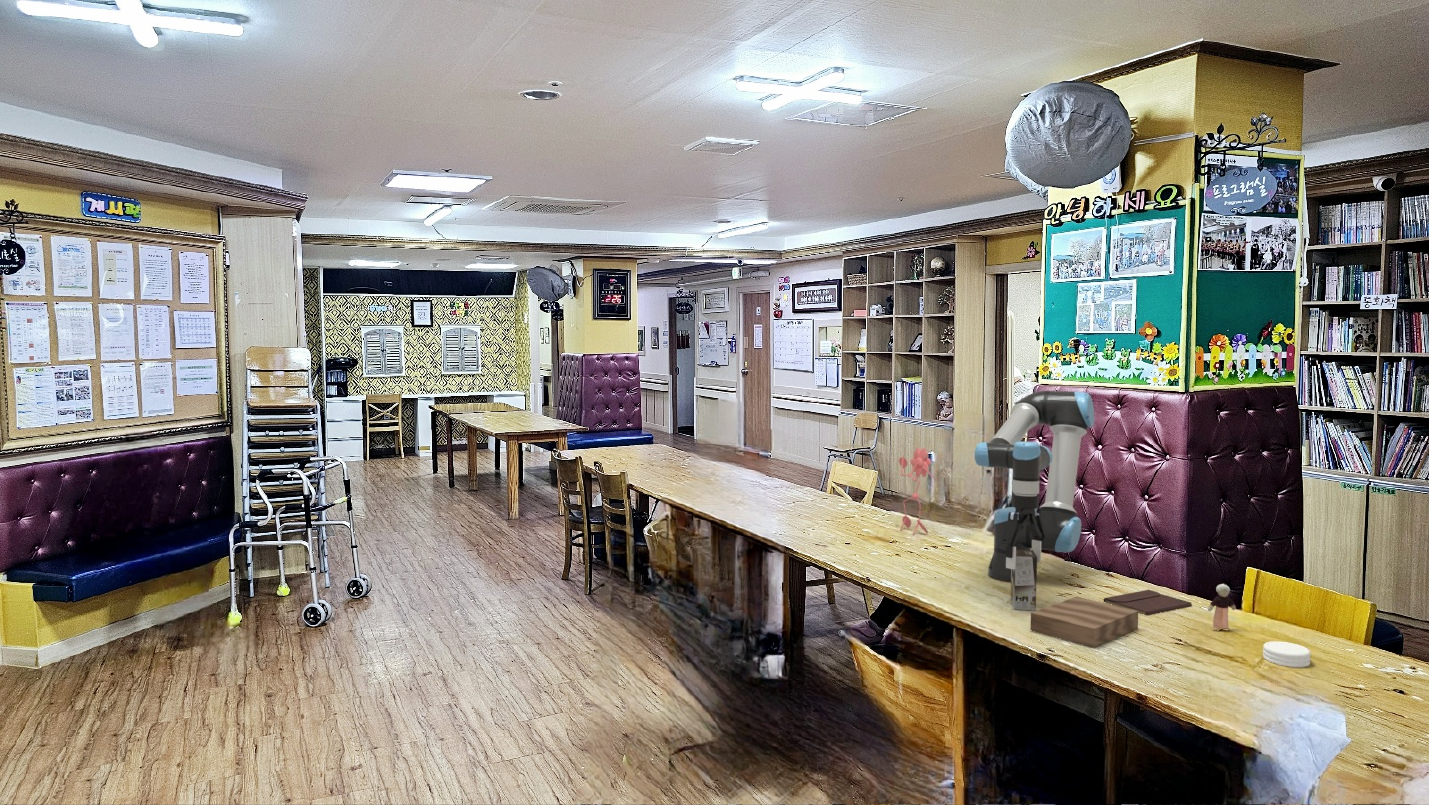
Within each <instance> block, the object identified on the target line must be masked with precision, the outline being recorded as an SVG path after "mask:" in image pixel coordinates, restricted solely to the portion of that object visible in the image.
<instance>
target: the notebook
mask: <svg viewBox="0 0 1429 805" xmlns="http://www.w3.org/2000/svg"><path fill="white" fill-rule="evenodd" d="M1104 602H1106V604H1108V603H1109V604H1112V605H1115V606H1119V607H1124V608H1128V609H1132V610H1137V611H1138V614H1140V615H1141V614H1142V615H1143V614H1144V616H1147V617H1149V616H1151V615H1152V614H1153V615H1157V614H1161V613H1160V612H1162V613H1165V612H1164V611H1167V612H1171V611H1176V609H1177V610H1180V609H1185V608H1191V607H1192V606H1193V604H1192V601H1190V602H1189V601H1186V600H1184V599H1180V598H1177V597H1173V596H1169V595H1166V594H1162V593H1160V592H1158V591H1155V590H1151V589H1145V590H1140V591H1135V592H1129V593H1125V594H1123V593H1122V594H1119V595H1114V596H1113V595H1112V596H1109V597H1104V598H1103V603H1104ZM1156 613H1157V614H1156Z"/></svg>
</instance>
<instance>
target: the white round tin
mask: <svg viewBox="0 0 1429 805" xmlns="http://www.w3.org/2000/svg"><path fill="white" fill-rule="evenodd" d="M1262 647H1263V650H1262V652H1263V653H1262V657H1263V659H1264V660H1265V659H1266V660H1265V661H1267V662H1269V661H1270V663H1271V662H1272V663H1271V664H1274V663H1275V664H1274V665H1277V666H1278V665H1279V666H1283V667H1287V668H1306V667H1309V666H1310V665H1311V659H1312V657H1311V655H1312V653H1311V650H1310V649H1309V648H1307V647H1305V646H1303V645H1301V644H1297V643H1292V642H1286V641H1274V640H1272V641H1267V642H1265V643H1264V644H1263V645H1262Z"/></svg>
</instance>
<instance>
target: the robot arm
mask: <svg viewBox="0 0 1429 805" xmlns="http://www.w3.org/2000/svg"><path fill="white" fill-rule="evenodd" d="M1094 424H1095V407H1094V402H1093V399H1092V397H1091V395H1090V393H1087V392H1084V391H1076V390H1075V391H1065V390H1063V391H1061V390H1059V391H1058V390H1057V391H1056V390H1039V391H1036V392H1033V393H1031V394H1028V395H1026V396H1024V397H1022V398H1021V399H1020V400H1018V401H1017V402H1016V403H1015V404H1014V405H1013V406H1012V407H1011V410H1010V414H1009V417H1008V418H1007V420H1006V421H1005V422H1004V423H1003V425H1001V427H1000V428H999V429H998V430H997V432H996V433H995V434H994V436H993V437H992V438H991V439H990V440H989V442H986V441H985V442H979V443H978V444H976V446H975V449H974V461H975V463H976V465H977V466H979V467H985V468H986V467H987V468H995V469H996V468H997V469H1009V470H1010V469H1012V482H1011V484H1012V492H1011V493H1013V494H1012V495H1011V506H1010V507H1009V506H1008V507H1003V508H999V509H997V510H996V512H995V513H994V522H993V526H994V527H993V528H994V529H993V530H994V531H993V532H994V533H993V535H994V536H993V554H992V557H991V559H990V561H989V562H990V563H989V565H988V570H987V576H988V577H991V578H992V579H995V580H998V581H1005V582H1011V569H1016V550H1033V552H1034V553H1035V554H1036V556H1037V564H1040V563H1042V550H1044V551H1052V552H1056V553H1071V552H1073V551H1074V550H1075V549H1076V547H1077V546H1078V543H1079V541H1080V537H1081V535H1082V520H1081V518H1079V517H1078V516H1077V515H1078V512H1077V511H1076V510H1075V508H1074V500H1075V499H1074V498H1075V492H1076V490H1075V489H1076V483H1077V474H1078V465H1079V458H1080V450H1081V441H1082V437H1084V436H1085V435H1087V433H1088V432H1087V431H1088V428H1093V427H1094ZM1038 425H1046V426H1049V429H1050V430H1049V431H1051V432H1052V434H1053V437H1052V438H1053V439H1052V445H1051V450H1050V449H1049V447H1047V446H1045V445H1042V444H1040V443H1038V442H1035V441H1022V440H1023V439H1024V438H1025V436H1026V434H1027V433H1028V432H1029V430H1030V429H1032V428H1034V427H1037V426H1038ZM1048 467H1049V469H1048V476H1047V486H1046V492H1045V499H1044V503H1043V504H1042V505H1040V504H1039V503H1040V500H1039V499H1040V496H1039V494H1040V472H1041V471H1044V470H1045V469H1047V468H1048Z"/></svg>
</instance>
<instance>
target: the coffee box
mask: <svg viewBox="0 0 1429 805" xmlns="http://www.w3.org/2000/svg"><path fill="white" fill-rule="evenodd" d="M1037 577H1038V562H1037V556H1036V554H1035V553H1034V552H1033V550H1032V549H1030V550H1016V569H1011V581H1010V602H1011V605H1012V607H1013V610H1019V611H1020V610H1021V611H1032V612H1034V611H1037V583H1038V582H1037V579H1038V578H1037Z"/></svg>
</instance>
